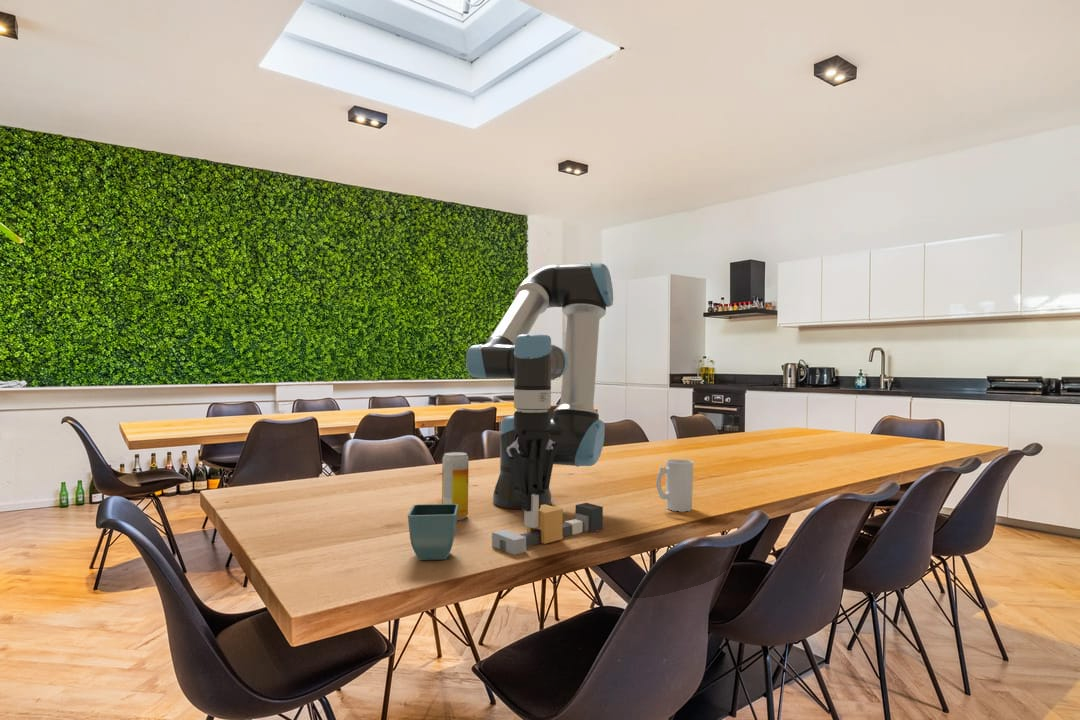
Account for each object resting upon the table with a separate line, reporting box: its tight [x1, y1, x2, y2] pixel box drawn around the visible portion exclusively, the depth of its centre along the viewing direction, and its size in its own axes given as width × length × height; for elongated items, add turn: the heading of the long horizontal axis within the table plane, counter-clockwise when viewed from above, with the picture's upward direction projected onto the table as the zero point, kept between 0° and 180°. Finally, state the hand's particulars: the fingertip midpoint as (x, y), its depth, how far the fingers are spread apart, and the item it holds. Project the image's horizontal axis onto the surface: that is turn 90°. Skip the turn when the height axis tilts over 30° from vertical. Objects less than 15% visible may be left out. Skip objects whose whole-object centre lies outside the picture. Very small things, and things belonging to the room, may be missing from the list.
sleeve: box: [526, 504, 564, 544], centre depth 127 cm, size 5×5×6 cm
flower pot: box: [407, 503, 458, 561], centre depth 116 cm, size 9×9×9 cm
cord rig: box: [491, 502, 604, 556], centre depth 128 cm, size 26×7×5 cm, turn 132°
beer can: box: [441, 451, 470, 521], centre depth 144 cm, size 6×6×15 cm
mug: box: [656, 458, 694, 513], centre depth 154 cm, size 10×7×12 cm, turn 112°
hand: (531, 525), depth 125 cm, fingers closed
